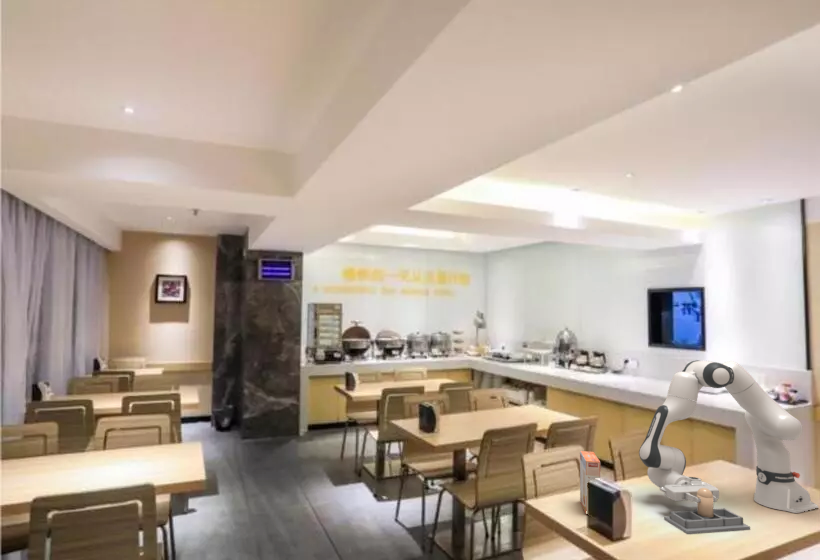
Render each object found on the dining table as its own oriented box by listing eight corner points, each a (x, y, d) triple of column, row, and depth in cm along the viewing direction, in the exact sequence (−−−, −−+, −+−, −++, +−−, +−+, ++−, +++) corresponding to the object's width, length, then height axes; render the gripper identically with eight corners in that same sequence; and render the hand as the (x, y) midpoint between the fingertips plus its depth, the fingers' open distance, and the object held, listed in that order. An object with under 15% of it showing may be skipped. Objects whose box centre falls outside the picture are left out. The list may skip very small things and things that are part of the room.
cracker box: (601, 516, 182) (601, 461, 184) (585, 515, 184) (584, 460, 185) (595, 502, 196) (594, 451, 198) (579, 501, 197) (579, 450, 199)
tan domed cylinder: (706, 511, 180) (705, 485, 181) (717, 517, 175) (716, 490, 176) (694, 511, 180) (693, 485, 180) (704, 517, 174) (704, 491, 175)
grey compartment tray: (723, 515, 185) (723, 506, 185) (750, 529, 173) (749, 519, 174) (664, 519, 181) (663, 510, 181) (687, 534, 169) (687, 524, 169)
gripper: (656, 479, 189) (682, 492, 175) (702, 477, 192) (730, 490, 179) (657, 495, 189) (682, 510, 175) (702, 493, 192) (730, 507, 178)
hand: (707, 500), depth 177 cm, fingers closed on tan domed cylinder, 5 cm apart
